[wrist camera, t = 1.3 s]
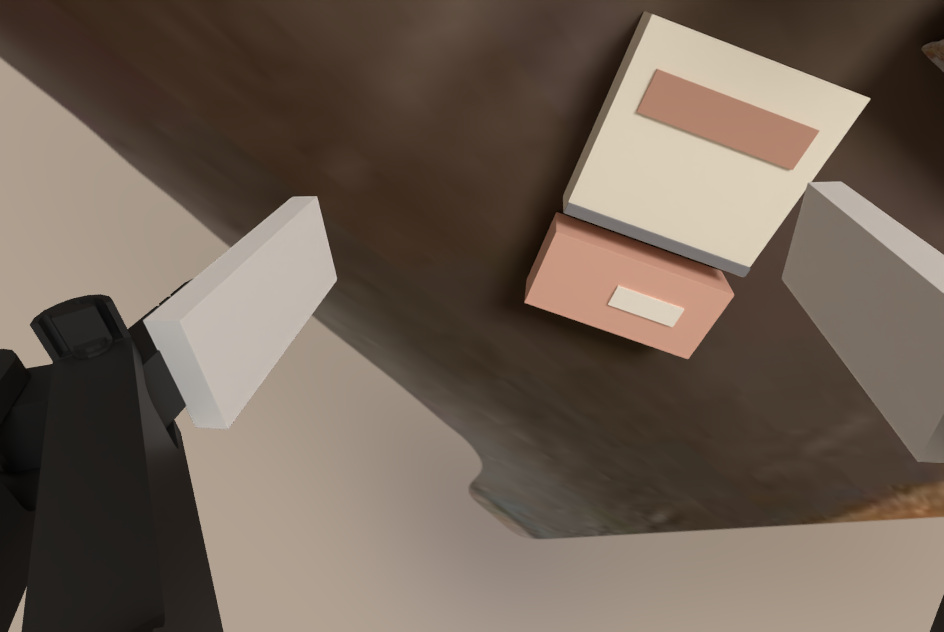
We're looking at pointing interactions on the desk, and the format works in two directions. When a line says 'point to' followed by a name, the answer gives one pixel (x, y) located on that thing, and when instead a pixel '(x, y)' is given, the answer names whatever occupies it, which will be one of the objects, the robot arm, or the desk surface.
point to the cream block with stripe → (705, 145)
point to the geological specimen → (935, 53)
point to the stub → (626, 286)
